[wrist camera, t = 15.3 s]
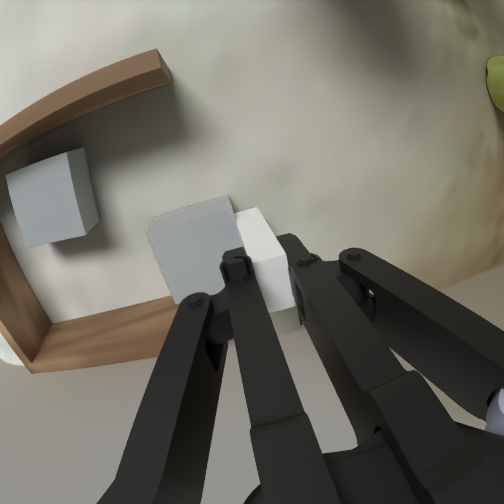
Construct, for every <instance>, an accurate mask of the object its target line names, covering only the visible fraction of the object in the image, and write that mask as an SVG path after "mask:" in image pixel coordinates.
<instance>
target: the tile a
mask: <svg viewBox="0 0 504 504" xmlns="http://www.w3.org/2000/svg"><path fill="white" fill-rule="evenodd" d="M5 176H6V180H7V185H8V189H9V194H10V198H11V202H12V205H13V209H14V213H15V216H16V220H17V223H18V226H19V230H20V233H21V236H22V239H23V242H24V245H25V248H31V247H35V246H39V245H43V244H48V243H52V242H57V241H61V240H66V239H70V238H75V237H79V236H84V235H87V233H88V232H89V231H90V230H91V229H92V228H93V227H94V226H95V224H96V223H97V222H98V221H99V220H100V217H99V214H98V210H97V206H96V201H95V197H94V193H93V188H92V184H91V179H90V174H89V169H88V164H87V159H86V153H85V147H83V148H79V149H75V150H72V151H68V152H65V153H62V154H59V155H56V156H53V157H50V158H48V159H45V160H42V161H39V162H37V163H34V164H31V165H29V166H26V167H24V168H21V169H19V170H16V171H14V172H12V173H9V174H7V175H5Z"/></svg>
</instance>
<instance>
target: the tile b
mask: <svg viewBox="0 0 504 504" xmlns="http://www.w3.org/2000/svg"><path fill="white" fill-rule="evenodd" d="M146 235H147V237H148V240H149V243H150V245H151V248H152V250H153V253H154V255H155V258H156V260H157V262H158V265H159V267H160V270H161V272H162V274H163V277H164V279H165V281H166V284H167V286H168V288H169V291H170V293H171V295H172V297H173V300H174V302H175V304H180V303H181V301H182V300H183V299H184V298H185V297H187V296H188V295H191V294H193V293H197V292H205V293H207V294H209V296H210V295H214V294H217V293H219V292H220V291H221V290H222V289H223V288H224V287H225V283H224V280H223V277H222V274H221V271H220V268H219V266H220V263H221V262H222V256H223V254H224V252H225V251H228V250H232V249H236V248H239V247H242V243H241V239H240V235H239V231H238V227H237V224H236V220H235V216H234V212H233V209H232V206H231V203H230V200H229V197H228V195H225V196H221V197H218V198H214V199H211V200H207V201H204V202H200V203H197V204H193V205H190V206H187V207H183V208H180V209H177V210H173V211H170V212H167V213H164V214H160V215H157V216H154V217H153V219H152V221H151V224H150V226H149V228H148V230H147V232H146Z"/></svg>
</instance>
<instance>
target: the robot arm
mask: <svg viewBox="0 0 504 504" xmlns="http://www.w3.org/2000/svg"><path fill="white" fill-rule="evenodd" d="M234 216H235V220H236V224H237V227H238V231H239V235H240V239H241V243H242V247H239V248H236V249H232V250H228V251H225V252H224V254H223V256H222V262H221V263H220V266H219V268H220V271H221V274H222V277H223V280H224V283H225V287H224V288H223V289H222V290H221V291H220V292H219V293H217V294H215V295H214V296H211V297H210V296H209V294H207V293H205V292H197V293H193V294H191V295H188V296H187V297H185V298H184V299H183V300H182V301H181V303H180V305H179V307H178V309H177V312H176V314H175V317H174V319H173V322H172V324H171V326H170V329H169V331H168V334H167V336H166V339H165V341H164V344H163V346H162V349H161V351H160V354H159V356H158V359H157V361H156V364H155V367H154V369H153V372H152V375H151V377H150V380H149V382H148V385H147V388H146V391H145V393H144V396H143V399H142V401H141V404H140V407H139V409H138V412H137V415H136V418H135V421H134V423H133V426H132V429H131V432H130V435H129V438H128V441H127V444H126V447H125V450H124V453H123V456H122V459H121V462H120V465H119V468H118V471H117V474H116V478H115V480H114V481H113V483H112V484H111V485H110V487H109V488H108V489H107V491H106V492H105V493H104V495H103V496H102V497H101V498H100V500H99V501H98V502H97V504H200V503H201V498H202V493H203V487H204V481H205V475H206V469H207V463H208V457H209V452H210V446H211V440H212V433H213V428H214V422H215V417H216V411H217V405H218V400H219V393H220V388H221V383H222V377H223V371H224V366H225V360H226V354H227V349H228V342H227V341H229V340H231V339H233V338H234V340H235V346H236V351H237V357H238V362H239V367H240V372H241V378H242V382H243V388H244V393H245V398H246V403H247V408H248V412H249V417H250V422H251V429H250V436H251V443H252V447H253V452H254V457H255V461H256V466H257V470H258V475H259V479H260V485H258V486H257V488H255V489H254V490H253V491H252V492H251V494H250V495H249V496H248V497H247V499H246V500H245V502H244V504H504V331H502V330H501V329H499V328H498V327H496V326H495V325H493V324H492V323H490V322H489V321H487V320H485V319H484V318H482V317H481V316H479V315H478V314H476V313H474V312H472V311H471V310H469V309H468V308H466V307H465V306H463V305H461V304H460V303H458V302H456V301H455V300H453V299H451V298H450V297H448V296H446V295H445V294H443V293H441V292H440V291H438V290H436V289H434V288H433V287H431V286H429V285H428V284H426V283H424V282H422V281H421V280H419V279H417V278H415V277H414V276H412V275H410V274H408V273H406V272H405V271H403V270H401V269H399V268H397V267H396V266H394V265H392V264H390V263H388V262H387V261H385V260H383V259H381V258H379V257H377V256H375V255H374V254H372V253H370V252H368V251H366V250H364V249H361V248H349V249H346V250H344V251H342V252H341V253H340V254H339V260H336V261H322V259H321V258H320V257H319V256H318V255H316V254H312V253H309V252H308V250H307V249H306V248H305V246H304V245H303V244H302V243H301V241H300V240H299V239H298V237H297V236H295V235H293V234H291V233H288V234H284V235H281V236H277V237H275V235H274V234H273V232H272V230H271V229H270V227H269V226H268V224H267V222H266V221H265V219H264V218H263V216H262V214H261V213H260V211H259V210H258V208H257V207H256V208H252V209H248V210H244V211H240V212H237V213H234ZM369 289H370V290H371V291H372V292H373V294H374V295H372V294H371V293H369ZM294 299H295V301H296V303H297V308H298V314H299V320H300V325H302V324H303V323H304V325H305V327H306V330H307V332H308V334H309V336H310V338H311V340H312V342H313V344H314V346H315V348H316V350H317V352H318V354H319V356H320V359H321V361H322V363H323V365H324V367H325V369H326V371H327V373H328V376H329V378H330V380H331V382H332V384H333V386H334V388H335V390H336V393H337V395H338V397H339V399H340V401H341V403H342V405H343V407H344V410H345V412H346V414H347V416H348V418H349V420H350V422H351V425H352V427H353V429H354V431H355V434H356V438H357V444H358V446H357V447H356V448H354V449H352V450H346V451H340V452H332V453H323V454H322V452H321V449H320V447H319V444H318V441H317V438H316V436H315V433H314V430H313V428H312V425H311V422H310V420H309V418H308V415H307V414H306V413H305V412H304V409H303V407H302V404H301V401H300V398H299V395H298V393H297V390H296V387H295V384H294V382H293V379H292V376H291V373H290V371H289V368H288V365H287V362H286V359H285V357H284V354H283V351H282V348H281V346H280V343H279V340H278V337H277V334H276V332H275V329H274V326H273V323H272V320H271V318H270V315H269V314H270V313H273V312H277V311H280V310H284V309H287V308H290V307H294V306H295V301H294ZM302 321H303V323H302ZM389 347H390V348H391V349H392V350H393V351H395V352H396V353H397V354H398V355H399V356H401V357H402V358H403V359H404V360H405V361H407V362H408V363H409V364H410V365H412V366H413V367H414V368H415V369H416V370H418V371H419V372H420V373H421V374H422V375H423V376H425V377H426V378H427V379H428V380H429V381H431V382H432V383H433V384H434V385H435V386H437V387H438V388H439V389H440V390H442V391H443V392H444V393H445V394H446V395H447V396H448V397H450V398H451V399H452V400H453V401H454V402H456V403H457V404H458V405H459V406H461V407H462V408H463V409H465V410H466V411H467V412H469V413H470V414H472V415H474V416H476V417H477V418H479V419H482V420H484V421H486V423H487V425H486V428H485V430H481V429H478V428H474V427H471V426H468V425H465V424H462V423H458V422H455V421H453V419H452V418H451V417H450V415H449V414H448V412H447V411H446V409H445V408H444V406H443V405H442V403H441V402H440V400H439V399H438V397H437V396H436V395H435V393H434V392H433V390H432V389H431V388H430V386H429V385H428V384H427V382H426V381H425V379H424V378H423V376H422V375H421V374H420V373H419V372H417V371H415V370H412V371H406V370H405V369H404V368H403V367H402V365H401V364H400V362H399V361H398V360H397V358H396V357H395V355H394V354H393V353H392V351H391V350H390V348H389Z"/></svg>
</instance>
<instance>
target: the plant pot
mask: <svg viewBox="0 0 504 504" xmlns="http://www.w3.org/2000/svg"><path fill="white" fill-rule="evenodd" d="M486 67H487V70H488V76H487V80H486V81H487V86H488V90H489V93H490V96H491V99H492V101H493V103H494V104H495V106H496V107H497V108H499V109H500V110H501V111H502V112H504V55H503V56H496V57H491V58H490V59H489V60H488V62H487V66H486Z"/></svg>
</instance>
